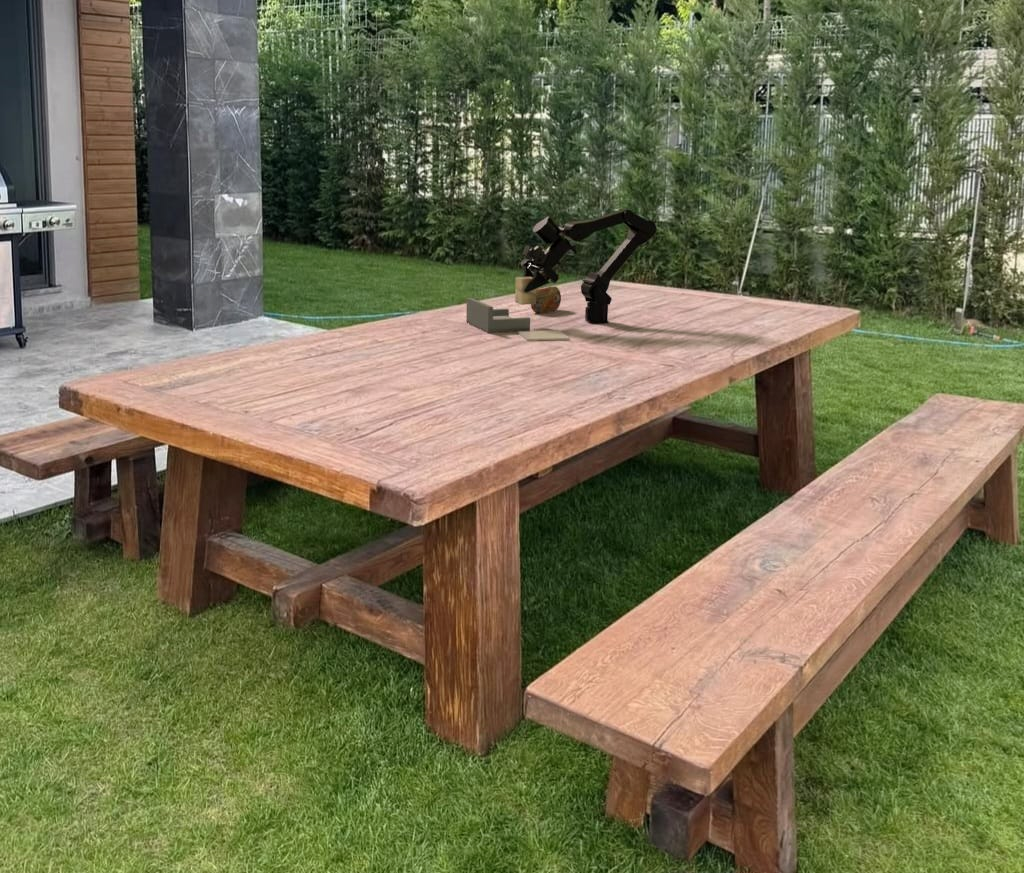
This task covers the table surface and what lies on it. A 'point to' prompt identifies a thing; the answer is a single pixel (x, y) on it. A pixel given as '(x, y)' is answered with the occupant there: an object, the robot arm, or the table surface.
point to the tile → (543, 335)
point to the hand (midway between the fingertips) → (521, 290)
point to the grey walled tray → (493, 318)
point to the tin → (546, 300)
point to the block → (520, 294)
